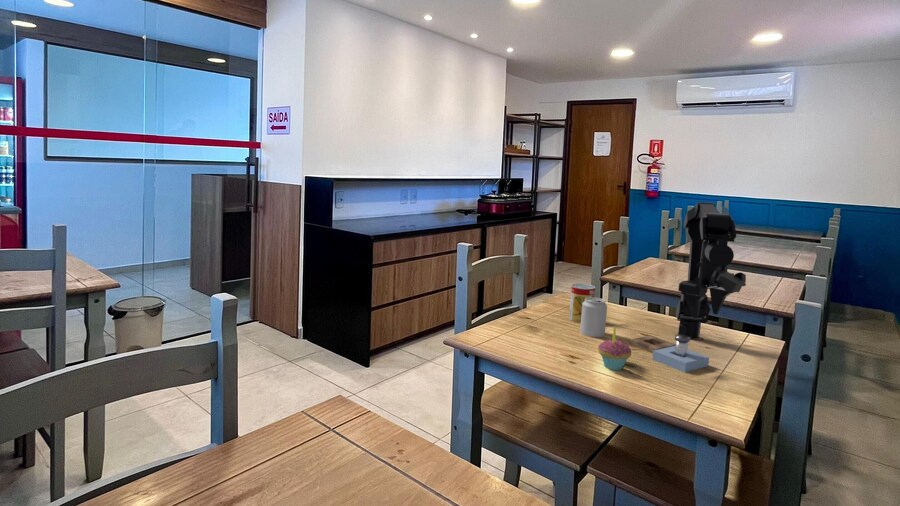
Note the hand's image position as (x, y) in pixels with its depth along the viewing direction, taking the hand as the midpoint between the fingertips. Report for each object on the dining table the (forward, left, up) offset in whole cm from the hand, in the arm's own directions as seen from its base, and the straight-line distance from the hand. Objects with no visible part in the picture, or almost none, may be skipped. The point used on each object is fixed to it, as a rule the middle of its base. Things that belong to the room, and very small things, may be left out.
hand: (705, 315), depth 147 cm
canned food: (+2, -44, -13) cm, 46 cm away
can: (+12, -29, -13) cm, 34 cm away
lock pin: (+9, 0, -12) cm, 15 cm away
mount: (+5, -12, -13) cm, 18 cm away
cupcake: (+26, -8, -13) cm, 30 cm away
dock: (+9, 0, -13) cm, 16 cm away
